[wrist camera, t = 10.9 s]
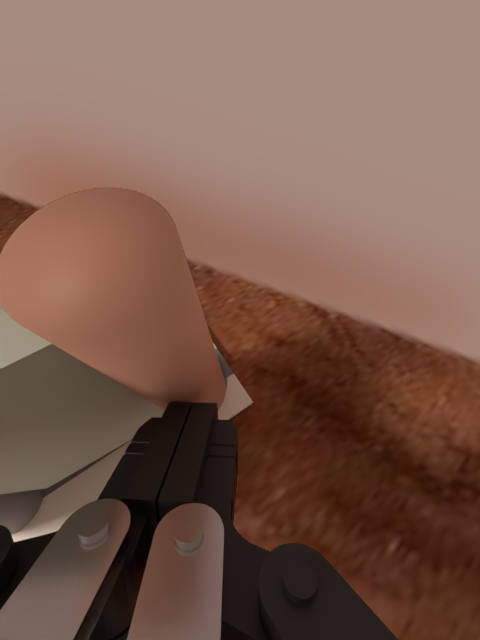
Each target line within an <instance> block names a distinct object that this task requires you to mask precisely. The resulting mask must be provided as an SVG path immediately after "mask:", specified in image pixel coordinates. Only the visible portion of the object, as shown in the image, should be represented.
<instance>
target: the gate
mask: <svg viewBox="0 0 480 640" xmlns="http://www.w3.org/2000/svg"><path fill="white" fill-rule="evenodd" d="M0 304H1V306H2V307H3V309H2V310H0V494H7V493H15V492H22V491H30V490H37V489H45V488H49V487H51V486H52V485H54V484H56V483H57V482H59V481H61V480H63V479H64V478H66V477H68V476H69V475H71V474H73V473H75V472H76V471H78V470H80V469H81V468H83V467H85V466H87V465H88V464H90V463H92V462H93V461H95V460H97V459H99V458H100V457H102V456H104V455H105V454H107V453H109V452H111V451H112V450H114V449H116V448H117V447H119V446H121V445H123V444H124V443H126V442H128V441H129V440H131V439H133V437H134V435H135V434H136V432H137V430H138V429H139V427H141V426H142V425H143V424H144V423H145V422H147V421H148V420H149V419H150V418H151V417H160V418H161V417H162V415H163V413H164V411H165V409H166V407H167V405H168V403H169V402H193V403H194V402H204V403H217V407H218V409H219V408H220V407H221V405H222V403H223V401H224V398H225V394H226V383H225V379H224V376H223V373H222V370H221V366H220V363H219V360H218V357H217V354H216V351H215V348H214V344H213V341H212V338H211V335H210V332H209V329H208V326H207V322H206V319H205V316H204V313H203V310H202V307H201V304H200V301H199V297H198V294H197V291H196V288H195V285H194V282H193V279H192V275H191V272H190V269H189V266H188V263H187V260H186V257H185V254H184V251H183V247H182V244H181V241H180V238H179V235H178V232H177V229H176V226H175V223H174V221H173V219H172V218H171V216H170V214H169V213H168V212H167V210H166V209H165V208H164V207H163V206H161V204H159V203H158V202H157V201H155V200H154V199H152V198H150V197H148V196H146V195H144V194H142V193H139V192H136V191H132V190H128V189H121V188H95V189H90V190H84V191H80V192H76V193H73V194H70V195H67V196H64V197H62V198H60V199H57V200H55V201H53V202H51V203H49V204H47V205H46V206H44V207H42V208H41V209H39V210H38V211H36V212H35V213H34V214H32V215H31V216H30V217H29V218H27V219H26V220H25V221H24V222H23V223H22V224H21V225H20V226H19V227H18V228H17V229H16V230H15V232H14V233H13V234H12V235H11V236H10V238H9V239H8V241H7V242H6V244H5V246H4V248H3V250H2V252H1V254H0Z"/></svg>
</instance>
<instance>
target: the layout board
mask: <svg viewBox="0 0 480 640" xmlns="http://www.w3.org/2000/svg"><path fill="white" fill-rule="evenodd" d="M2 309H3V307H2V306H1V304H0V310H2ZM213 344H214V343H213ZM214 348H215V351H216V354H217V357H218V360H219V363H220V366H221V370H222V373H223V376H224V379H225V383H226V394H225V398H224V401H223V403H222V405H221V407H220V408H219V409H218V419H220V420H229V419H231V418H232V417H234V416H235V415H237V414H238V413H239V412H241V411H242V410H244V409H245V408H247V407H248V406H250V405H251V404H252V403H253V401H252V400H251V398H250V397H249V395H248V394H247V392H246V391H245V389H244V388H243V386H242V385H241V383H240V382H239V380H238V379H237V377H236V376H235V375H234V373H233V371H232V370H231V368H230V367H229V365H228V364H227V362H226V361H225V359H224V358H223V356H222V355H221V353H220V352H219V350H218V349H217V348H216V346H215V345H214ZM131 441H132V439H131V440H129V441H128V442H126V443H124V444H123V445H121V446H119V447H117V448H116V449H114V450H112V451H111V452H109V453H107V454H105V455H104V456H102V457H100V458H99V459H97V460H95V461H93V462H92V463H90V464H88V465H87V466H85V467H83V468H81V469H80V470H78V471H76V472H75V473H73V474H71V475H69V476H68V477H66V478H64V479H63V480H61V481H59V482H57V483H56V484H54V485H52V486H51V487H49V488H45V489H44V492H43V497H42V498H43V500H42V503H41V506H40V508H39V510H38V511H37V513H36V515H35V516H34V517H33V519H32V520H31V521H30V522H29V523H28V524H27V525H26V526H25V527H24V528H22V529H21V530H19V531H17V532H16V533H13V534H11V535H12V538H13V541H14V542H17V541H21V540H25V539H29V538H33V537H37V536H41V535H45V534H49V533H52V532H56V531H58V530H59V529H60V527H61V526H62V525H63V523H64V522H65V521H66V520H67V519H68V518H69V517H70V516H71V515H72V514H73V513H74V512H75V511H77V510H78V509H79V508H81V507H83V506H84V505H86V504H88V503H90V502H93V501H96V500H97V499H98V497H99V496H100V494H101V492H102V490H103V489H104V487H105V485H106V484H107V482H108V480H109V478H110V477H111V475H112V473H113V472H114V470H115V468H116V466H117V465H118V463H119V461H120V459H121V458H122V456H123V455H125V451H126V449H127V447H128V446H129V444H130V443H131Z"/></svg>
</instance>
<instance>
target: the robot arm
mask: <svg viewBox="0 0 480 640" xmlns="http://www.w3.org/2000/svg"><path fill="white" fill-rule="evenodd" d="M237 472H238V455H237V430H236V428H235V426H234V424H233V421H232V420H220V419H218V407H217V403H204V402H194V403H193V402H169V403H168V405H167V407H166V409H165V411H164V413H163V415H162V417H161V418H160V417H151V418H150V419H149V420H148V421H147V422H145V423H144V424H143V425H142V426H141V427H139V429H138V430H137V432H136V434H135V435H134V437H133V439H132V441H131V443H130V444H129V446H128V447H127V449H126V451H125V455H123V456H122V458H121V459H120V461H119V463H118V465H117V466H116V468H115V470H114V472H113V473H112V475H111V477H110V478H109V480H108V482H107V484H106V485H105V487H104V489H103V490H102V492H101V494H100V496H99V497H98V499H97V500H96V501H93V502H90V503H88V504H86V505H84V506H83V507H81V508H79V509H78V510H77V511H75V512H74V513H73V514H72V515H71V516H70V517H69V518H68V519H67V520H66V521H65V522H64V523H63V525H62V526H61V527H60V529H59V530H58V531H56V532H52V533H49V534H45V535H41V536H37V537H33V538H29V539H25V540H21V541H17V542H14V541H13V538H12V535H11V532H10V531H9V529H8V528H6V527H5V526H2V525H0V640H398V639H397V638H396V637H395V636H394V635H393V633H392V632H391V631H390V630H389V629H388V628H387V627H386V626H385V625H384V623H383V622H382V621H381V620H380V619H379V618H378V617H377V616H376V615H375V613H374V612H373V611H372V610H371V609H370V608H369V607H368V606H367V604H366V603H365V602H364V601H363V600H362V599H361V598H360V597H359V596H358V594H357V593H356V592H355V591H354V590H353V589H352V588H351V587H350V586H349V584H348V583H347V582H346V581H345V580H344V579H343V578H342V577H341V576H340V574H339V573H338V572H337V571H336V570H335V569H334V568H333V567H332V566H331V564H330V563H329V562H328V561H327V560H326V559H325V558H324V557H323V556H322V555H321V554H319V553H318V552H317V551H315V550H314V549H312V548H310V547H308V546H305V545H302V544H296V543H290V544H284V545H281V546H279V547H277V548H275V549H274V550H272V551H271V552H269V551H267V550H265V549H262V548H260V547H258V546H255V545H253V544H252V543H250V542H248V541H247V540H245V539H244V538H243V537H242V536H241V535H240V534H239V533H238V532H237V530H236V529H235V527H234V525H233V519H234V508H235V496H236V484H237Z"/></svg>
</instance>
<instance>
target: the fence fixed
mask: <svg viewBox="0 0 480 640" xmlns="http://www.w3.org/2000/svg"><path fill="white" fill-rule="evenodd" d="M43 492H44V489H37V490H30V491H22V492H15V493H7V494H0V525H2V526H5V527H6V528H8V529H9V531H10V532H11V534H13V533H16V532H17V531H19V530H21V529H22V528H24V527H25V526H26V525H27V524H28V523H29V522H30V521H31V520H32V519H33V517H34V516H35V515H36V513H37V511H38V510H39V508H40V506H41V503H42V500H43V498H42V497H43Z"/></svg>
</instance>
